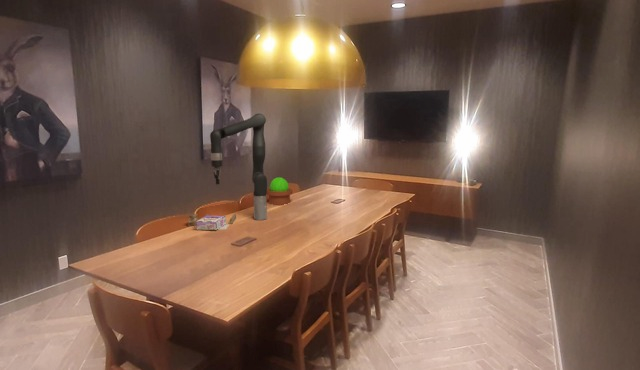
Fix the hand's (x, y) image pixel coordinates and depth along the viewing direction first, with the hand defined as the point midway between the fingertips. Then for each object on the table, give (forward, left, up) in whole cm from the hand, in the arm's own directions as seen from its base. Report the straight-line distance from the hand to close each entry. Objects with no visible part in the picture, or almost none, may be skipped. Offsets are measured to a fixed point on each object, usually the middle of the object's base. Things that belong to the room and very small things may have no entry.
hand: (217, 184), depth 251 cm
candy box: (0, +9, -23) cm, 25 cm away
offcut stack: (+15, +9, -27) cm, 32 cm away
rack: (0, +1, -27) cm, 27 cm away
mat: (0, +18, -27) cm, 32 cm away
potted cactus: (-41, -56, -27) cm, 74 cm away
